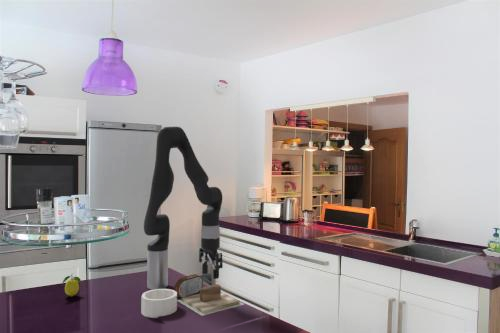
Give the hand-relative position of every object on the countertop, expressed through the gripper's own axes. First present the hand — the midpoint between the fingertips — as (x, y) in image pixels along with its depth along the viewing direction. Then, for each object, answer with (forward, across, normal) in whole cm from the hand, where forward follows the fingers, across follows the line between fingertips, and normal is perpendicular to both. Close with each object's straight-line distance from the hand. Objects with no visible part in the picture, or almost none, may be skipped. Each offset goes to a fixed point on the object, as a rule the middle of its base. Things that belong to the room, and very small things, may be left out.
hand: (210, 276), depth 160 cm
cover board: (+11, 0, 0) cm, 11 cm away
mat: (+11, 0, 0) cm, 11 cm away
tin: (+12, -14, -2) cm, 19 cm away
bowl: (+11, -5, -20) cm, 23 cm away
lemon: (+11, -42, -43) cm, 61 cm away
